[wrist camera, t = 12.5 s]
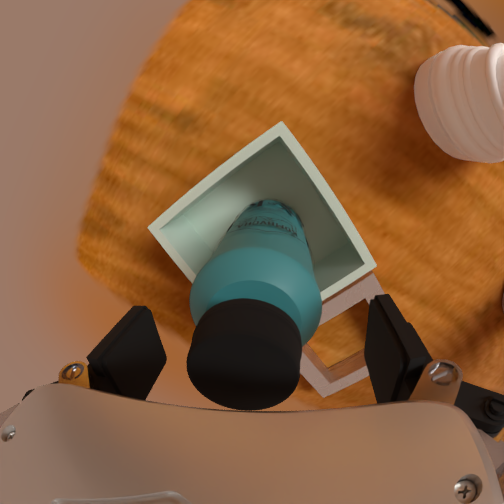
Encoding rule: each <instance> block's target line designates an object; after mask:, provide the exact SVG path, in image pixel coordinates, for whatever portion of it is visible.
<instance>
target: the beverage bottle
mask: <svg viewBox="0 0 504 504" xmlns="http://www.w3.org/2000/svg"><path fill="white" fill-rule="evenodd" d="M266 199H270V198H266ZM259 200H260V199H259ZM259 200H258V201H257V202H255V203H253V202H252V204H250V206H249V205H247V206H248V207H247V208H246V206H245V208H246V209H245V208H244V209H245V210H244V209H243V210H244V211H243V210H242V211H243V212H242V213H241V214H240V216H239V217H238V215H237V217H238V219H237V220H236V221H235V222H233V223H234V224H233V223H232V225H231V226H230V227H229V228H228V231H227V233H226V235H224V236H225V237H224V238H223V239H222V240H221V242H219V243H220V244H219V246H218V247H217V249H216V251H215V252H214V251H213V252H214V254H213V255H212V256H211V258H210V259H209V261H208V262H207V263H206V264H205V265H204V266H203V267H202V268H201V270H200V271H199V273H198V274H197V276H196V278H195V280H194V282H193V284H192V287H191V291H190V298H189V302H190V311H191V315H192V318H193V321H194V323H195V325H196V328H195V330H194V333H193V337H192V343H191V346H190V350H189V353H188V357H187V372H188V375H189V378H190V380H191V382H192V383H193V385H194V386H195V388H196V389H197V390H198V391H199V392H200V393H201V394H202V395H204V396H205V397H206V398H208V399H209V400H211V401H213V402H215V403H217V404H219V405H222V406H224V407H227V408H232V409H237V410H261V409H266V408H270V407H273V406H275V405H277V404H279V403H281V402H283V401H284V400H286V399H287V398H288V397H289V396H290V395H291V394H292V393H293V392H294V390H295V389H296V386H297V384H298V381H299V377H300V361H301V357H302V347H303V346H304V345H305V344H306V343H307V342H308V341H309V340H310V339H311V337H312V336H313V335H314V333H315V331H316V329H317V327H318V325H319V323H320V319H321V315H322V299H321V294H320V290H319V287H318V284H317V282H316V279H315V275H314V270H313V267H312V260H311V256H310V253H309V252H310V251H311V249H309V248H310V247H309V246H310V245H309V244H308V242H307V239H306V238H305V235H304V231H303V228H302V226H303V227H304V224H301V223H302V222H301V219H300V217H299V215H298V214H296V213H295V212H294V210H292V207H289V206H288V205H289V204H288V205H286V203H285V204H284V202H283V203H282V202H281V200H280V202H279V201H275V200H261V201H259ZM276 200H277V199H276ZM240 212H241V211H240ZM296 212H297V211H296ZM297 215H298V216H297ZM237 217H236V218H237ZM229 229H230V230H229ZM305 232H306V231H305ZM308 241H309V240H308ZM311 254H312V252H311Z"/></svg>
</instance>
